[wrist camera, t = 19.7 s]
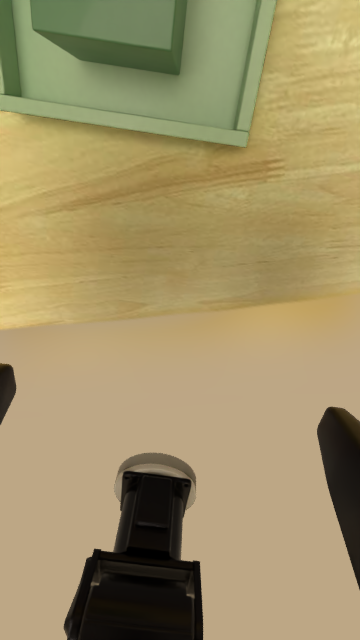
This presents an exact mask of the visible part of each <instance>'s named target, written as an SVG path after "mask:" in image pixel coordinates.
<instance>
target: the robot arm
mask: <svg viewBox="0 0 360 640" xmlns="http://www.w3.org/2000/svg"><path fill="white" fill-rule="evenodd" d="M15 393H16V383H15V378H14V372H13V368H12V366H11V365H9V364H2V363H0V424H1V423H2V420H3V418H4V416H5V414H6V412H7V410H8V408H9V406H10V404H11V402H12V400H13V398H14V395H15ZM317 435H318V440H319V445H320V450H321V455H322V460H323V465H324V470H325V475H326V480H327V484H328V488H329V492H330V496H331V499H332V502H333V505H334V508H335V512H336V515H337V518H338V521H339V524H340V528H341V531H342V534H343V537H344V541H345V544H346V547H347V551H348V554H349V557H350V560H351V563H352V567H353V570H354V573H355V577H356V579H357V583H358V586H359V589H360V421H359V420H357V419H356V418H355V417H354V416H353V415H351V414H350V413H349V412H348V411H346V410H345V409H343V408H338V407H328V408H327V409H326V411H325V413H324V415H323V417H322V419H321V421H320V423H319V425H318V429H317ZM191 485H192V482H191V480H190V479H187V478H180V477H172V476H165V475H157V474H149V473H142V472H134V471H124V472H123V476H122V488H121V506H120V510H121V511H122V512H121V517H120V522H119V527H118V532H117V536H116V542H115V546H114V551H113V552H107V551H101V549H94V552H93V555H92V557H89V558H87V559H86V563H85V567H84V571H83V574H82V578H81V581H80V584H79V587H78V589H77V592H76V595H75V597H74V599H73V602H72V604H71V607H70V609H69V612H68V614H67V617H66V619H65V624H64V630H65V633H66V635H67V640H203V612H202V595H201V577H200V576H201V575H200V562H199V561H193V562H190V561H182V560H181V543H182V542H181V541H182V520H183V517H184V513H185V510H186V506H187V502H188V498H189V494H190V490H191Z"/></svg>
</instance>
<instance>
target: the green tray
mask: <svg viewBox="0 0 360 640" xmlns="http://www.w3.org/2000/svg"><path fill="white" fill-rule="evenodd" d="M276 3H277V0H187V10H186V20H185V29H184V39H183V49H182V58H181V68H180V75H172V74H166V73H159V72H153V71H146V70H140V69H133V68H127V67H121V66H114V65H108V64H101V63H95V62H88V61H82V60H79V59H77V58H76V57H74V56H73V55H71V54H70V53H68V52H66V51H65V50H63V49H62V48H60V47H59V46H57V45H55V44H54V43H52V42H51V41H49V40H48V39H46V38H44V37H43V36H41V35H40V34H38V33H37V32H35V31H34V30H33V29H32V20H31V8H30V0H0V110H1V111H7V112H14V113H20V114H27V115H34V116H40V117H47V118H53V119H60V120H67V121H73V122H80V123H86V124H93V125H100V126H106V127H113V128H119V129H126V130H132V131H139V132H146V133H152V134H159V135H165V136H172V137H179V138H185V139H192V140H198V141H205V142H212V143H218V144H225V145H231V146H238V147H244V148H245V147H246V146H247V142H248V137H249V131H250V127H251V122H252V118H253V113H254V108H255V103H256V99H257V94H258V89H259V84H260V80H261V75H262V70H263V65H264V60H265V56H266V51H267V46H268V41H269V37H270V32H271V27H272V22H273V18H274V13H275V8H276Z"/></svg>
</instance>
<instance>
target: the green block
mask: <svg viewBox="0 0 360 640" xmlns="http://www.w3.org/2000/svg"><path fill="white" fill-rule="evenodd" d="M30 8H31V20H32V29H33V30H34V31H35V32H37V33H38V34H40V35H41V36H43V37H44V38H46V39H48V40H49V41H51V42H52V43H54V44H55V45H57V46H59V47H60V48H62V49H63V50H65V51H66V52H68V53H70V54H71V55H73V56H74V57H76V58H77V59H79V60H82V61H88V62H95V63H101V64H108V65H114V66H121V67H127V68H133V69H140V70H146V71H153V72H159V73H166V74H172V75H180V68H181V58H182V49H183V39H184V29H185V20H186V10H187V0H30Z"/></svg>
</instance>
